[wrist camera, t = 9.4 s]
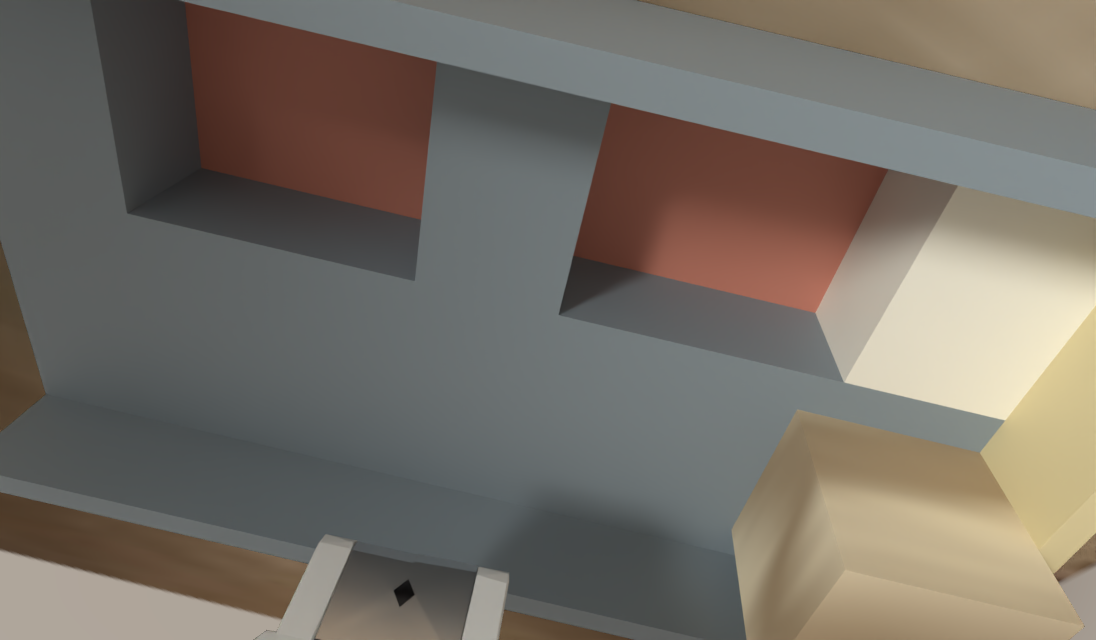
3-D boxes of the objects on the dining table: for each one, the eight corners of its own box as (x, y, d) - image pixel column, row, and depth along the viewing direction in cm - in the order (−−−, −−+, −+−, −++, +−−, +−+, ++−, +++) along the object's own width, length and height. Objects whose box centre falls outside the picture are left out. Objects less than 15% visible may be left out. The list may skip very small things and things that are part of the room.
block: (796, 409, 14) (845, 570, 11) (979, 452, 14) (1084, 626, 11) (731, 529, 16) (754, 694, 13) (889, 566, 16) (952, 740, 13)
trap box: (32, -144, 13) (-309, -168, 8) (1129, 117, 13) (1395, 239, 8) (127, 345, 19) (-32, 484, 15) (854, 515, 20) (918, 705, 15)
